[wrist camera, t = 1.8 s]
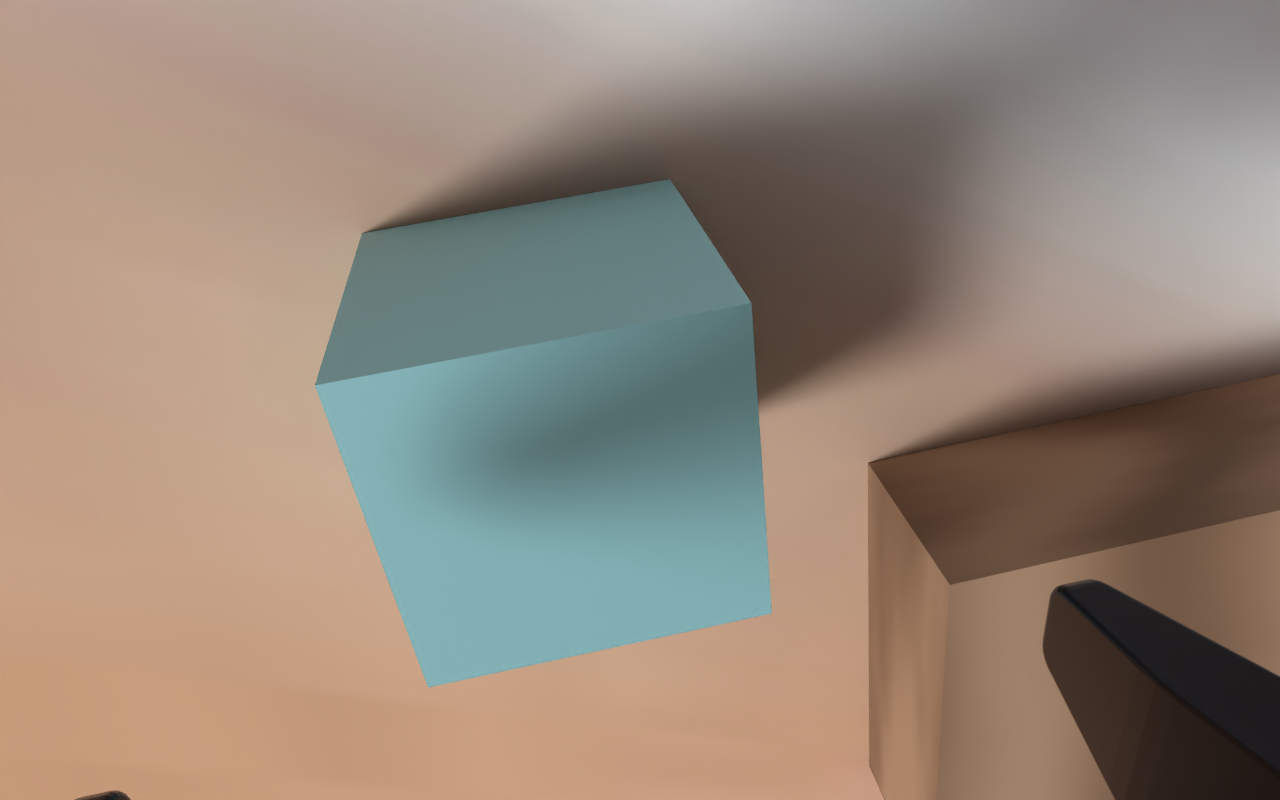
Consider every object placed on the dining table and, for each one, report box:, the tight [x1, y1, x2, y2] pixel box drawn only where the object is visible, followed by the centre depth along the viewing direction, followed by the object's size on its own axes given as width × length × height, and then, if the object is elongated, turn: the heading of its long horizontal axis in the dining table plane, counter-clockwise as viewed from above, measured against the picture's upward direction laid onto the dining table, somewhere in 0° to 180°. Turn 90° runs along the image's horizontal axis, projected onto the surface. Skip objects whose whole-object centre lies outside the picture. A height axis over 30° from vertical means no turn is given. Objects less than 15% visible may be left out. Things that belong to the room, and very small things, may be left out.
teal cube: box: [315, 179, 772, 687], centre depth 13 cm, size 5×5×5 cm
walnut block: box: [868, 374, 1280, 800], centre depth 20 cm, size 10×10×4 cm
